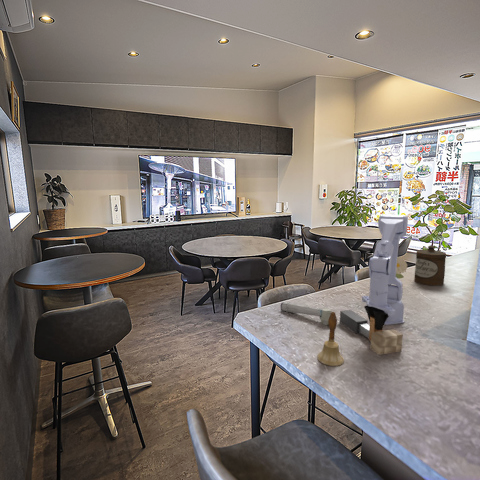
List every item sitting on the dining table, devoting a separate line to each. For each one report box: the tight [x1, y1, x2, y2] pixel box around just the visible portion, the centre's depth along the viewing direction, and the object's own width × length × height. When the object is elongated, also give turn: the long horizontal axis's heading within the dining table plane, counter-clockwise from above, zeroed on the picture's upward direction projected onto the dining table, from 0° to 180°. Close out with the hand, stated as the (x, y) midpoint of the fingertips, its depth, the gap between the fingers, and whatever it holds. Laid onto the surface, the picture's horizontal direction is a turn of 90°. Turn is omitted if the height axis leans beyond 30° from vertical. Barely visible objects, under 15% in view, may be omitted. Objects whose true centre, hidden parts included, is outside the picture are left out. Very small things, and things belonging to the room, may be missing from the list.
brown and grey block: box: [358, 316, 384, 342], centre depth 108 cm, size 4×16×9 cm, turn 14°
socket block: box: [370, 328, 404, 356], centre depth 101 cm, size 9×4×6 cm, turn 104°
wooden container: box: [414, 244, 447, 287], centre depth 175 cm, size 15×15×22 cm
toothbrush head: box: [280, 301, 333, 326], centre depth 129 cm, size 5×7×25 cm
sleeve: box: [339, 309, 369, 335], centre depth 119 cm, size 5×11×5 cm, turn 14°
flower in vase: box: [389, 256, 408, 285], centre depth 134 cm, size 13×11×25 cm
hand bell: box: [316, 311, 345, 367], centre depth 95 cm, size 8×8×16 cm
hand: (376, 327), depth 106 cm, fingers open, 3 cm apart
